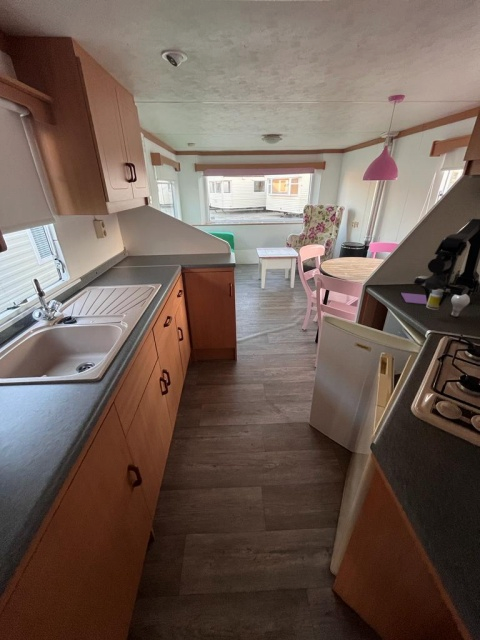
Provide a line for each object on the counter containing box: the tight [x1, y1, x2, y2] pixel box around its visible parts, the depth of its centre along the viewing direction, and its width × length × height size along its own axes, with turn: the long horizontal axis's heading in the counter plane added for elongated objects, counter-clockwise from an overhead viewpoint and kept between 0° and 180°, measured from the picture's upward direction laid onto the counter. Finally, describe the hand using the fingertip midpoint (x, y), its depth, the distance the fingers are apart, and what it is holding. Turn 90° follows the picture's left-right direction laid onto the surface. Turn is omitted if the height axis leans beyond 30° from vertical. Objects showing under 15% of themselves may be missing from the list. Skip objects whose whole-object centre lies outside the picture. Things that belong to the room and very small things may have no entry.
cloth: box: [400, 292, 427, 306], centre depth 139 cm, size 14×14×1 cm
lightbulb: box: [450, 294, 471, 317], centre depth 118 cm, size 6×6×11 cm
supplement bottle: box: [425, 288, 445, 311], centre depth 115 cm, size 5×5×8 cm
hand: (433, 303), depth 116 cm, fingers closed on supplement bottle, 5 cm apart
